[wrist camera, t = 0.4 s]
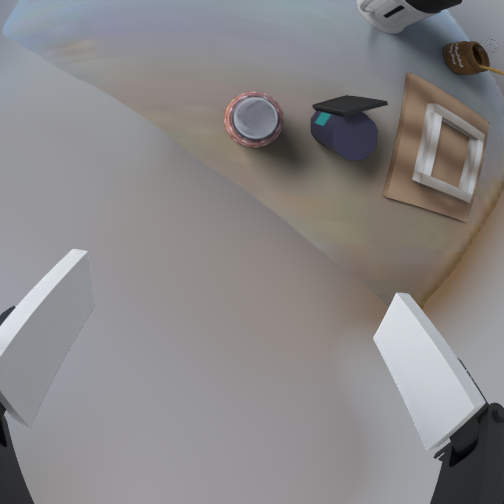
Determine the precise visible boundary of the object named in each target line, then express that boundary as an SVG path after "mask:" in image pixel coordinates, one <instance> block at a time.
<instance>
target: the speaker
mask: <svg viewBox="0 0 504 504" xmlns="http://www.w3.org/2000/svg"><path fill="white" fill-rule="evenodd" d="M385 105H388V103H387V101H383V100H377V99H370V98H364V97H356V96H348V95H346V96H342V97H339V98H335V99H331V100H328V101H325V102H321V103H318V104H314V105H312V106H313V108H316V109H318V110H317V111H316V112H315V114H314V115H313V117H312V118H311V133H312V135H313V137H314V138H315V139H317V140H318V141H319V142H321V143H322V144H323V145H325V146H327V147H328V148H330V149H331V150H333V151H334V152H336V153H337V154H339V155H340V156H342V157H343V158H345V159H346V160H363V159H365V158H367V157H368V156H369V155H370V153H371V152H372V151H373V149H374V148H375V147H376V145H377V128H376V125H375V123H374V122H373V121H372V120H371V119H370V118H369V117H368V116H367V115H366V114H364V113H362V111H366V110H369V109H373V108H377V107H381V106H385Z"/></svg>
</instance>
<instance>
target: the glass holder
mask: <svg viewBox="0 0 504 504" xmlns="http://www.w3.org/2000/svg"><path fill="white" fill-rule="evenodd" d="M356 2H357V7H358V9H359V11H360V13H361V15H362V16H363V17H364V19H365V20H366V21H367V22H368V23H369V24H371V25H372V26H373V27H375V28H376V29H378V30H380V31H382V32H385V33H390V34H396V33H400V32H402V31H403V30H404V29H405V27H406V26H408V25H410V24H413V23H415V22H417V21H420V20H422V19H425V18H427V17H430V16H432V15H435V14H437V13H440V12H441V10H444V9H447V8H450V7H452V6H455V5H458V4H460V3H461V2H462V0H356Z"/></svg>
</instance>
